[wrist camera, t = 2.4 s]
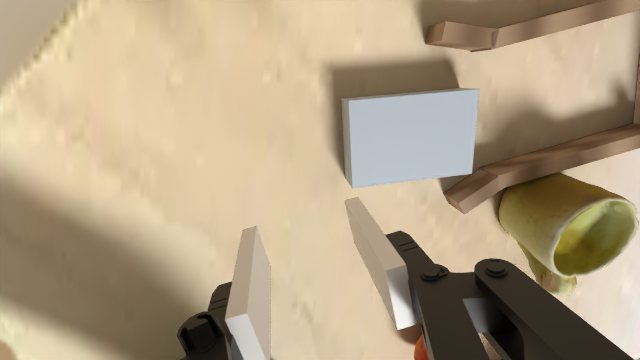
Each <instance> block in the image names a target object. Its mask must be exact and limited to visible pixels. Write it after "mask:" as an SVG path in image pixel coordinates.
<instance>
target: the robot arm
mask: <svg viewBox="0 0 640 360" xmlns="http://www.w3.org/2000/svg"><path fill="white" fill-rule="evenodd" d="M345 205H346V209H347V214H348V218H349V222H350V226H351V230H352V235H353V239H354V243H355V245H356V247H357V249H358V251H359V253H360V255H361V257H362V259H363V261H364V263H365V265H366V267H367V269H368V271H369V273H370V275H371V277H372V279H373V281H374V283H375V285H376V287H377V289H378V292H379V294H380V296H381V298H382V300H383V302H384V304H385V306H386V308H387V310H388V312H389V314H390V316H391V318H392V320H393V322H394V324H395V326H396V328H397V330H400V329H403V328H406V327H409V326H413V325H416V324H417V323H416V317H415V314H416V316H417V318H418V319H419V321H420V324H421V330H422V335H423V341H424V347H426V350H427V354H428V358H429V360H490V359H489V357H488V355H487V353H486V351H485V348H484V346H483V344H482V342H481V339H480V337H479V335H478V333H482V334H483V335H484V336H485V338H486V339H487V340H488V341H489V343H490V344H491V345H492V346H493V348H494V349H495V350H496V351H497V353H498V354H499V355H500V356H501V358H502V359H503V360H634V359H633V358H631V357H630V356H629V355H627V354H626V353H625V352H624V351H622V350H621V349H620V348H619V347H617V346H616V345H615V344H614V343H612V342H611V341H610V340H608V339H607V338H606V337H605V336H603V335H602V334H601V333H600V332H598V331H597V330H596V329H595V328H593V327H592V326H591V325H589V324H588V323H587V322H586V321H584V320H583V319H582V318H581V317H579V316H578V315H577V314H575V313H574V312H573V311H572V310H570V309H569V308H568V307H567V306H565V305H564V304H563V303H562V302H560V301H559V300H558V299H556V298H555V297H554V296H553V295H551V294H550V293H549V292H548V291H546V290H545V289H544V288H543V287H541V286H540V285H539V284H537V283H536V282H535V281H534V280H532V279H531V278H530V277H529V276H527V275H526V274H525V273H524V272H522V271H521V270H520V269H518V268H517V267H516V266H515V265H513V264H511V263H510V262H508V261H505V260H501V259H492V258H491V259H484V260H482V261H480V262H478V263H477V264H476V265H475V270H474V271H475V272H468V273H452V272H450V271H449V270H448V269H447V268H446V267H444V266H442V265H439V264H434V263H433V261H432V260H431V259H430V258H429V257H428V256H427V255H426V253H425V252H424V251H423V250H422V249H421V248H420V247H419V245H418V244H417V243H416V242H415V241H414V240H413V238H412V237H411V236H410V235H409V234H407V233H404V232H402V231H397V232H394V233H391V234H387V235H385V234H384V233H383V231H382V230H381V229H380V227H379V226H378V224H377V223H376V222H375V220H374V219H373V218H372V216H371V215H370V213H369V212H368V211H367V209H366V208H365V206H364V205H363V204H362V202H361V201H360V199H359V198H358V197H355V198H352V199H348V200H345ZM177 337H178V339H179V341H180V343H181V345H182V347H183V349H184V350H185V352H186V357H184V358H183V359H181V360H270V356H271V266H270V263H269V260H268V257H267V255H266V252H265V249H264V246H263V243H262V241H261V238H260V235H259V232H258V229H257V226H255V227H251V228H248V229H244V230H242V235H241V240H240V245H239V250H238V255H237V260H236V265H235V271H234V276H233V281H232V282H228V283H225V284H222V285H219V286H218V287H217V288H216V290H215V291H214V292H213V294H212V297H211V300H210V305H209V307H208V311H207V312H201V313H198V314H196V315H194V316H193V317H191V318H189V319H188V320H187V321H186V322H185V323H183V325H182V326H181V327H180V329H179V330H178V333H177Z"/></svg>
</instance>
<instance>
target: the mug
mask: <svg viewBox="0 0 640 360" xmlns="http://www.w3.org/2000/svg"><path fill="white" fill-rule="evenodd" d="M636 213H637V209H636V208H635V206H634V204H633V203H631V202H630V201H628V200H627V199H625V198H624V197H622V196H619V195H617V194H615V193H612V192H609V191H607V190H605V189H603V188H601V187H598V186H595V185H591V184H587V183H585V182H582V181H579V180H577V179H574V178H572V177H569V176H567V175H564V174H562V173H559V172H556V173H553V174H549V175H546V176H543V177H539V178H536V179H532V180H529V181H526V182H522V183H519V184H515V185H512V186H510V187H509V188H507V190H506V191H505V192H504V194H503V196H502V200H501V204H500V208H499V220H500V223H501V226H502V227H503V229H504V230H505V231H506V232H507V233H509V234H510V235H511V236H512V237H514V238H515V239H516V240H517V242H518V244H519V246H520V247H521V248H522V250H523V252H524V254H525V256H526V257H527V259H528V261H529V266H530V268H531V270H532V272H533V274H534V275H535V277H536V281H537V282H538V284H539V285H540V286H541V287H543V288H544V289H545V290H546V291H548V292H549V293H552V294H555V295H568V294H570V293H572V292H573V291H574V289H575V288H576V284H577V281H576V277H575V276H581V275H589V274H591V273H593V272H595V271H598V270H600V269H602V268H603V267H606V266H608V265H609V264H611V263H612V262H613V261H614V260H616V259H617V258H618V257H619V256H620V255H621V254H622V253H623V251H624V250H625V249H626V248H627V246H628V245H629V244H630V242H631V241H632V239H633V238H634V236H635V234H636V231H637V229H638V226H639V222H638V220H637V217H636ZM551 273H552V274H551Z"/></svg>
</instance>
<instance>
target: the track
mask: <svg viewBox="0 0 640 360" xmlns="http://www.w3.org/2000/svg"><path fill="white" fill-rule="evenodd" d="M637 10H640V0H603V1H599V2H595V3H591V4H587V5H584V6H580V7H576V8H572V9H568V10H565V11H561V12H557V13H553V14H549V15H546V16H542V17H538V18H534V19H530V20H527V21H523V22H519V23H515V24H511V25H508V26H504V27H500V28H496V29H494V28H488V27H481V26H475V25H468V24H462V23H455V22H449V21H444V22H441V23H438V24H435V25H432V26H429V28H428V34H427V39H426V44H428V45H435V46H442V47H449V48H457V49H464V50H471V52H476V51H483V50H491V49H495V48H499V47H503V46H506V45H510V44H514V43H518V42H521V41H525V40H529V39H533V38H536V37H540V36H544V35H547V34H551V33H555V32H559V31H562V30H566V29H570V28H574V27H577V26H581V25H585V24H589V23H592V22H596V21H600V20H604V19H607V18H611V17H615V16H619V15H622V14H626V13H630V12H634V11H637ZM638 148H640V58H639V68H638V79H637V89H636V99H635V109H634V119H633V123H632V124H629V125H625V126H622V127H618V128H615V129H611V130H608V131H605V132H601V133H598V134H594V135H591V136H587V137H584V138H580V139H577V140H573V141H570V142H567V143H563V144H560V145H556V146H553V147H549V148H546V149H542V150H539V151H535V152H532V153H529V154H525V155H522V156H518V157H515V158H511V159H508V160H504V161H501V162H497V163H494V164H490V165H487V166H484V167H480V169H479V170H477V171H476V172H474V173H473V174H471V175H470V176H468V177H467V178H465V179H464V180H462V181H461V182H459V183H458V184H456V185H455V186H453V187H452V188H450V189H449V190H447V191H446V192H444V193H443V194H444V196H445V197H446V199H447V201H448V203H449V204H451V205H452V206H453V207H455V208H456V209H458V210H459V211H460V212H462V213H463V214H466V213H467V212H469V211H470V210H472V209H473V208H475V207H476V206H478V205H479V204H481V203H482V202H484V201H485V200H487V199H488V198H490V197H491V196H493V195H494V194H496V193H497V192H499V191H501V190H502V189H504V188H505V187H509V186H512V185H515V184H519V183H522V182H526V181H529V180H532V179H536V178H539V177H543V176H546V175H549V174H553V173H556V172H559V171H563V170H566V169H570V168H573V167H576V166H580V165H583V164H587V163H590V162H593V161H597V160H600V159H604V158H607V157H610V156H614V155H617V154H621V153H624V152H627V151H631V150H634V149H638Z"/></svg>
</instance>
